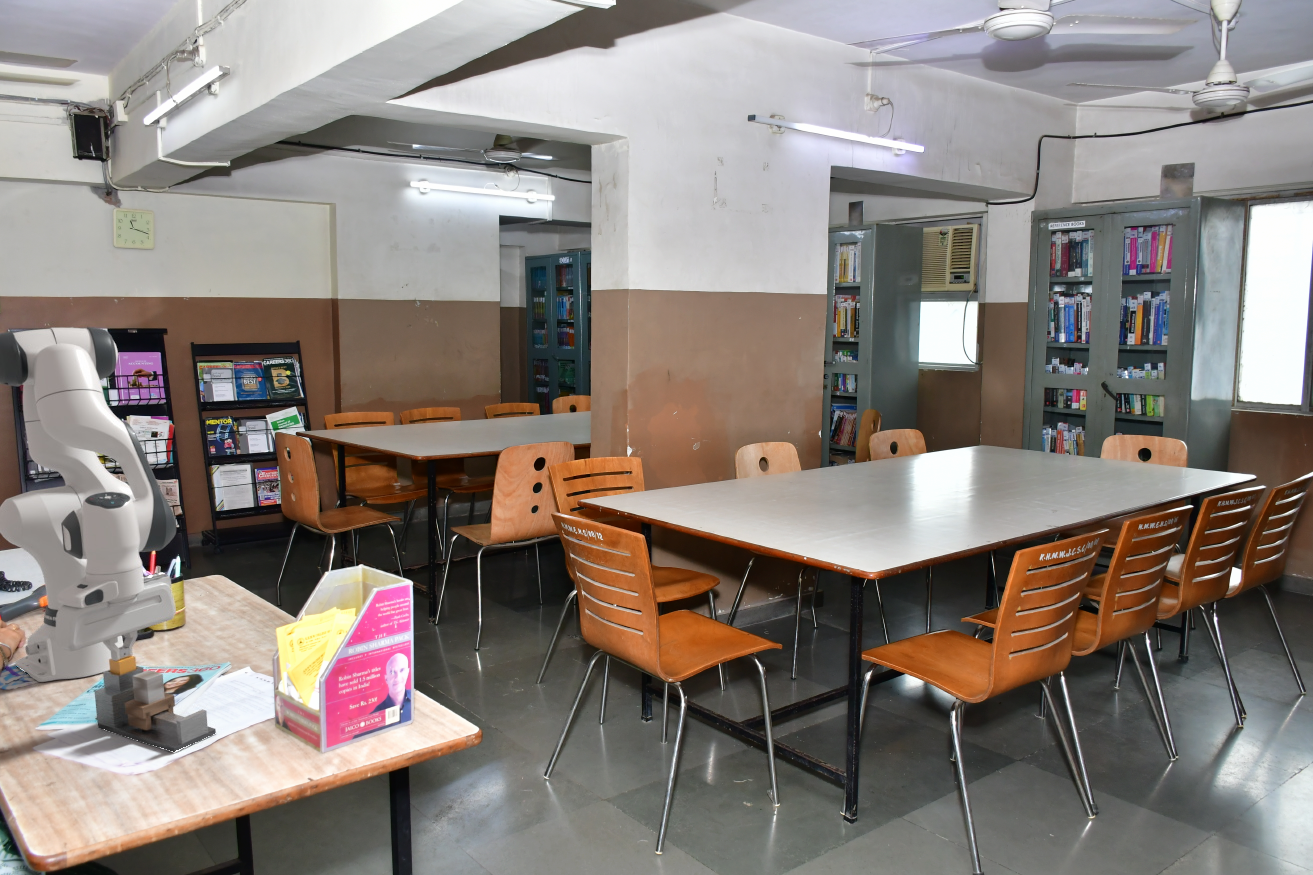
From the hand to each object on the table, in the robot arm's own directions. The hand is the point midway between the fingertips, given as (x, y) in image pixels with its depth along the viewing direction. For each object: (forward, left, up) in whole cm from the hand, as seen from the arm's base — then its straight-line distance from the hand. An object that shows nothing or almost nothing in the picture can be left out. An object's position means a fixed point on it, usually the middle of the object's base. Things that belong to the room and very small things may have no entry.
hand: (122, 657), depth 168 cm
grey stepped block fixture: (+7, 0, -12) cm, 14 cm away
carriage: (+7, 0, -11) cm, 13 cm away
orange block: (0, 0, -5) cm, 5 cm away
